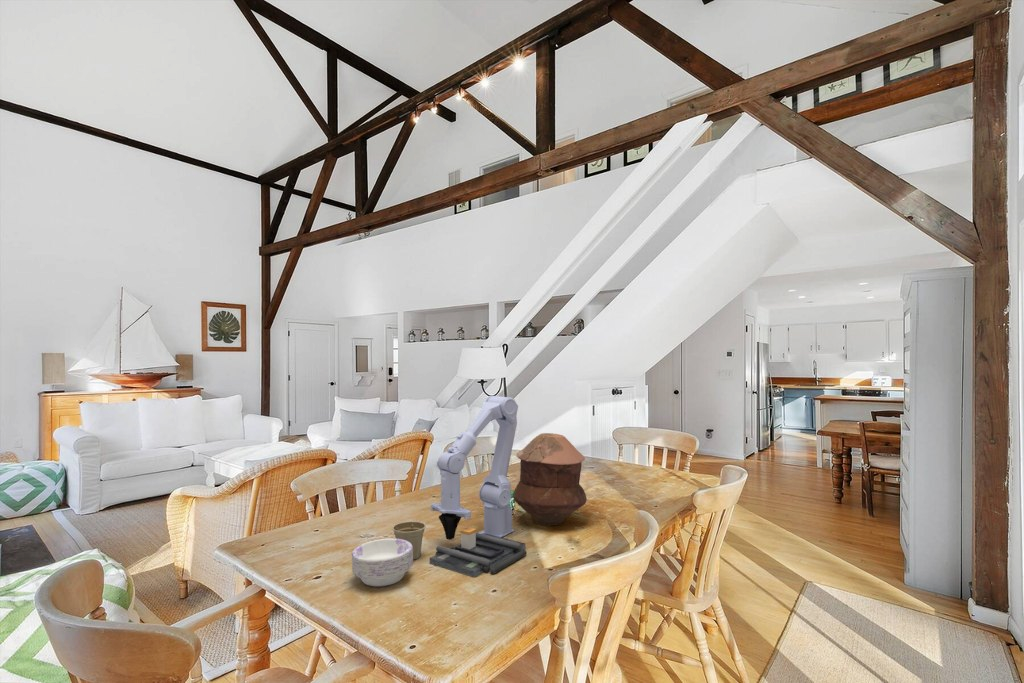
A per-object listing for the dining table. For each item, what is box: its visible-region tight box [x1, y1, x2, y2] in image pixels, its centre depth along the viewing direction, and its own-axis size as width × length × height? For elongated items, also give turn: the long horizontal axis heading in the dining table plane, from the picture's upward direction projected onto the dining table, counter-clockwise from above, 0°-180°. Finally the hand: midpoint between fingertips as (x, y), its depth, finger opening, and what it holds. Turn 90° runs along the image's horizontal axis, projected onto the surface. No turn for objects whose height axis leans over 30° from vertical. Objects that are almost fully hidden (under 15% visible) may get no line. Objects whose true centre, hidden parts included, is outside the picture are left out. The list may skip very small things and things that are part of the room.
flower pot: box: [391, 520, 427, 560], centre depth 145 cm, size 9×9×9 cm
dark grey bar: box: [476, 532, 521, 554], centre depth 152 cm, size 2×19×3 cm, turn 55°
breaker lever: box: [460, 526, 477, 550], centre depth 148 cm, size 3×3×5 cm
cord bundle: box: [434, 545, 527, 575], centre depth 144 cm, size 16×21×3 cm
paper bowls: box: [351, 538, 414, 587], centre depth 130 cm, size 15×15×8 cm
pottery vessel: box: [512, 432, 588, 527], centre depth 176 cm, size 26×26×30 cm
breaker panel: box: [429, 533, 527, 578], centre depth 145 cm, size 24×16×2 cm, turn 145°
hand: (450, 538), depth 152 cm, fingers closed
